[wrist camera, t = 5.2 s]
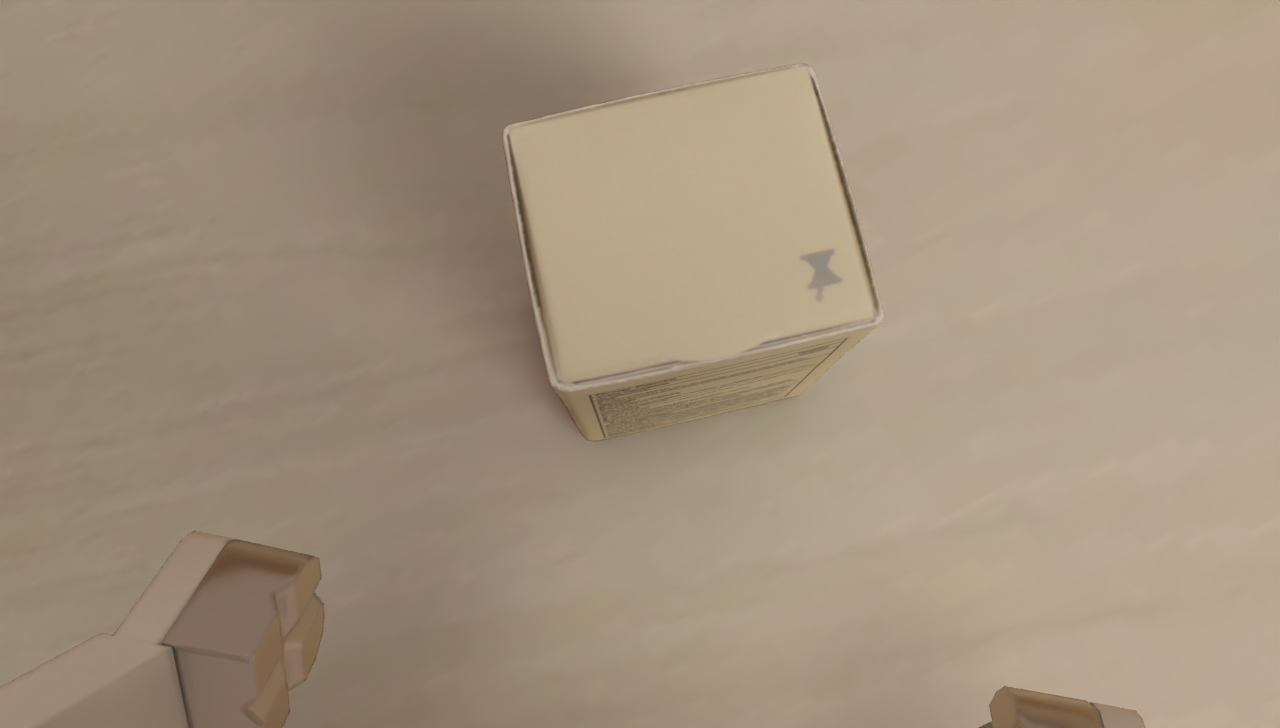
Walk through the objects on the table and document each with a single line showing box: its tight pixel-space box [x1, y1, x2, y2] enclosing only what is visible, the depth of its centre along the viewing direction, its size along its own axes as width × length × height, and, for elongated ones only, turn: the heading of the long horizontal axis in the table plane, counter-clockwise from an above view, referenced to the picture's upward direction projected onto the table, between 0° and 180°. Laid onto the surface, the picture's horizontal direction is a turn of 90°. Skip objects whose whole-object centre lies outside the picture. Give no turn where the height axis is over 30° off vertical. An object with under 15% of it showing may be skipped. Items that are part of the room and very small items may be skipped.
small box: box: [502, 64, 884, 441], centre depth 19 cm, size 5×4×8 cm
